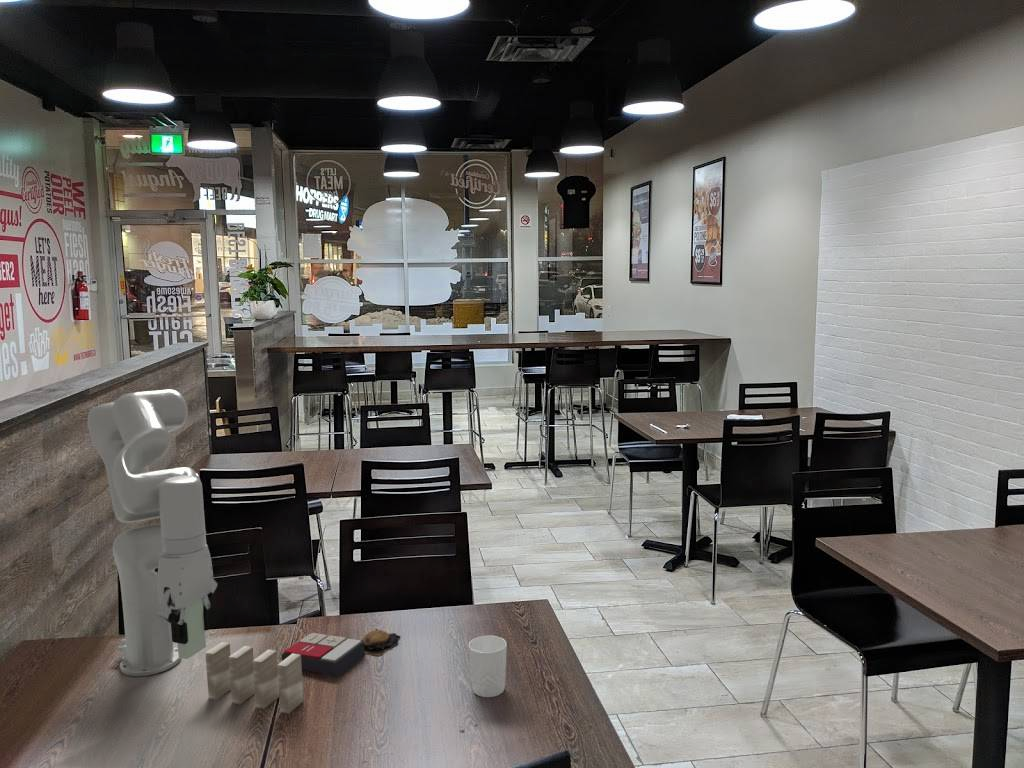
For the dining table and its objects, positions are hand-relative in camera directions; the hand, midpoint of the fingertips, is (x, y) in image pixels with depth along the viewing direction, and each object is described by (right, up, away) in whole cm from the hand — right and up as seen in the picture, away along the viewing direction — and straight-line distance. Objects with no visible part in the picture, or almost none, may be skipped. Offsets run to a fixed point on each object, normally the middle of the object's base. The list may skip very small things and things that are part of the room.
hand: (191, 634), depth 147 cm
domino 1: (0, -3, 0) cm, 4 cm away
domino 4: (+11, -18, +12) cm, 24 cm away
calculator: (+18, -16, +29) cm, 38 cm away
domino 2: (0, -17, +16) cm, 23 cm away
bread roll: (+29, -15, +37) cm, 49 cm away
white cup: (+56, -17, +15) cm, 60 cm away
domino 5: (+16, -18, +10) cm, 26 cm away
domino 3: (+5, -17, +14) cm, 23 cm away
